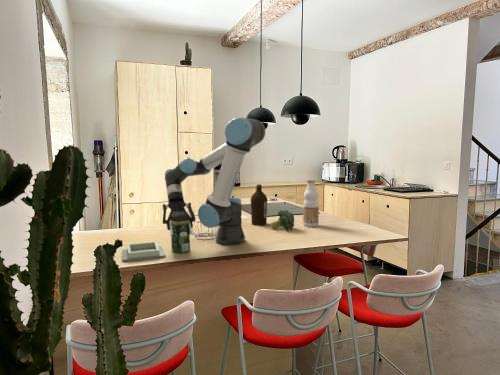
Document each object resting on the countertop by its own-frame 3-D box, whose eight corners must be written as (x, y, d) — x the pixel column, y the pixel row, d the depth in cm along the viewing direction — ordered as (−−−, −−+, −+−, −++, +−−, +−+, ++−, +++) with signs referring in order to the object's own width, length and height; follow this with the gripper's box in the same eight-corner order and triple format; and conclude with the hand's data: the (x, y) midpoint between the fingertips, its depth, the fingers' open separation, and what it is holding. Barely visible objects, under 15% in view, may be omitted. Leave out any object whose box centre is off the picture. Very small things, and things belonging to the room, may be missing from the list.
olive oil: (249, 225, 221) (249, 185, 219) (252, 221, 232) (252, 183, 229) (266, 226, 220) (266, 185, 217) (268, 222, 230) (268, 184, 227)
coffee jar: (169, 249, 171) (168, 211, 168) (185, 247, 174) (184, 209, 172) (175, 254, 162) (174, 214, 160) (192, 252, 166) (191, 212, 164)
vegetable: (272, 222, 220) (294, 212, 217) (278, 239, 213) (300, 229, 210) (264, 213, 211) (287, 203, 208) (270, 231, 203) (294, 220, 200)
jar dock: (161, 247, 173) (161, 240, 173) (165, 257, 158) (165, 249, 158) (122, 251, 167) (122, 244, 167) (122, 262, 152) (122, 254, 152)
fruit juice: (302, 227, 216) (303, 181, 213) (303, 223, 226) (303, 179, 222) (318, 227, 215) (319, 181, 212) (318, 224, 224) (319, 179, 221)
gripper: (195, 198, 184) (202, 236, 170) (153, 201, 177) (157, 240, 163) (196, 189, 178) (204, 228, 165) (154, 191, 171) (158, 232, 158)
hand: (181, 234), depth 164 cm, fingers closed on coffee jar, 8 cm apart
